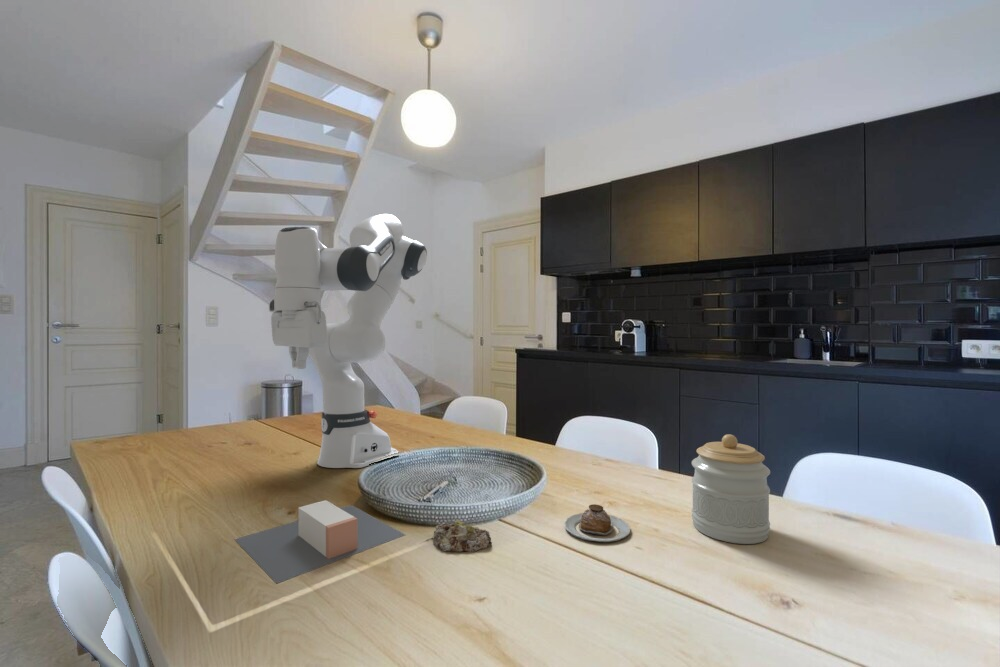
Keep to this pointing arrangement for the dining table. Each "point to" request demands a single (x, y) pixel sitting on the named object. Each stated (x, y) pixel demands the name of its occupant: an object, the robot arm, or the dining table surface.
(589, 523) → the pastry
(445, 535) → the mineral rock
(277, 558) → the rubber mat
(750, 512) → the jar
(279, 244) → the robot arm
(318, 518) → the cream block
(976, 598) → the dining table surface
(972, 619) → the dining table surface
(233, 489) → the dining table surface
